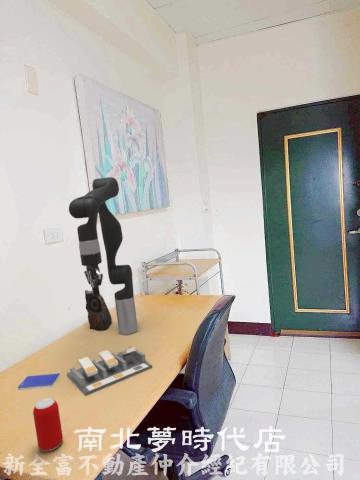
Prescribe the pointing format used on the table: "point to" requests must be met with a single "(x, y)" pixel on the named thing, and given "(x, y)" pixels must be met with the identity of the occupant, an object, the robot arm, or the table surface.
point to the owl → (97, 312)
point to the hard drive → (39, 381)
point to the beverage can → (47, 424)
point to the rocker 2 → (127, 351)
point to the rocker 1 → (87, 366)
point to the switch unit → (109, 372)
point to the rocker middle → (108, 359)
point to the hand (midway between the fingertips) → (96, 295)
